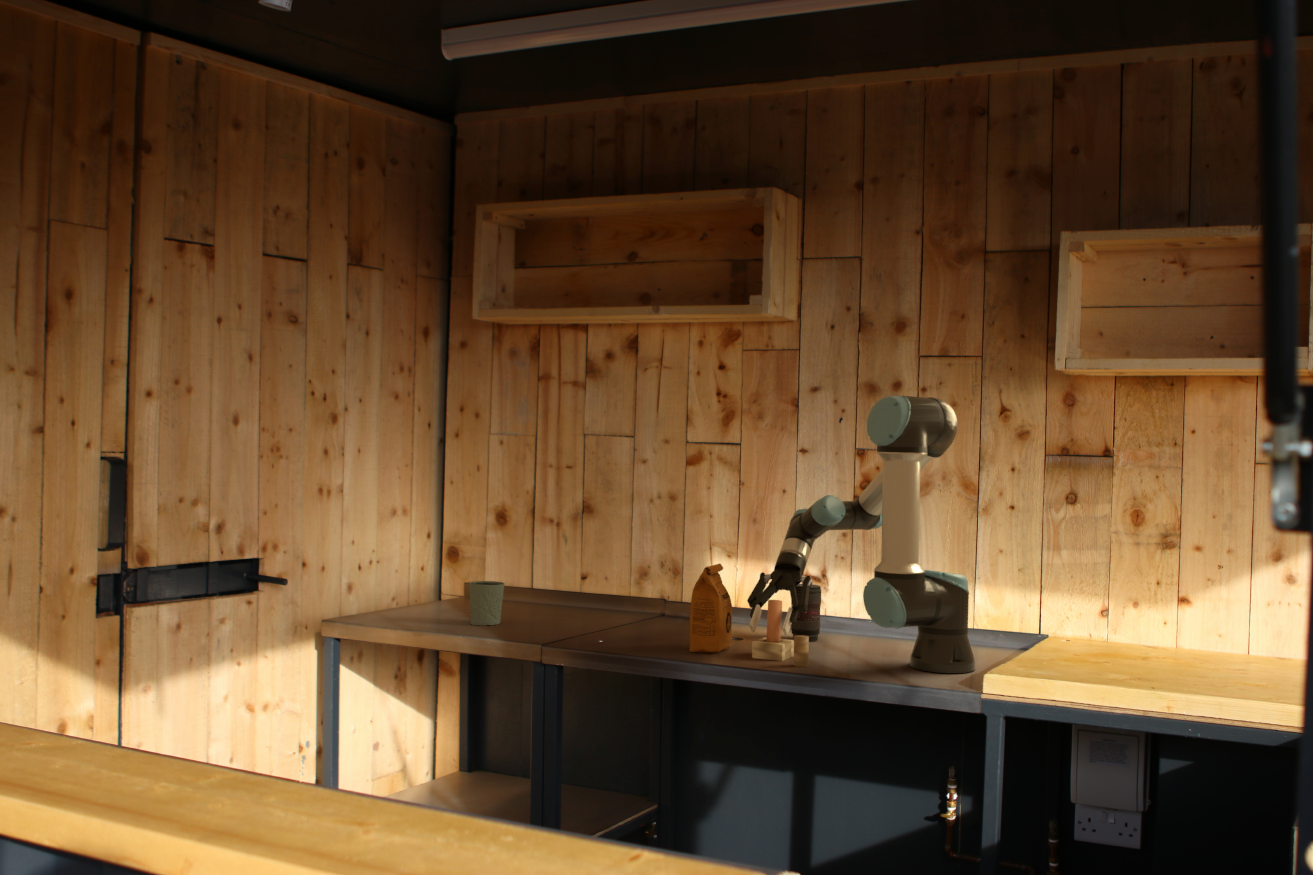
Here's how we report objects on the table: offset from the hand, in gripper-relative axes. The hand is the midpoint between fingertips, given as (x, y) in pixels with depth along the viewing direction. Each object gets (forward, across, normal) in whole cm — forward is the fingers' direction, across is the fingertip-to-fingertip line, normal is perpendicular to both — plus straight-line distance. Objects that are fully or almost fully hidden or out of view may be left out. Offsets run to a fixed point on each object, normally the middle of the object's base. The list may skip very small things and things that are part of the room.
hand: (768, 630), depth 275 cm
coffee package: (+3, +17, -8) cm, 19 cm away
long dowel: (+3, 0, -8) cm, 8 cm away
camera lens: (-18, +2, -28) cm, 33 cm away
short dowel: (+8, -10, -2) cm, 13 cm away
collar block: (+3, 0, -7) cm, 8 cm away
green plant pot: (0, +91, -10) cm, 92 cm away
